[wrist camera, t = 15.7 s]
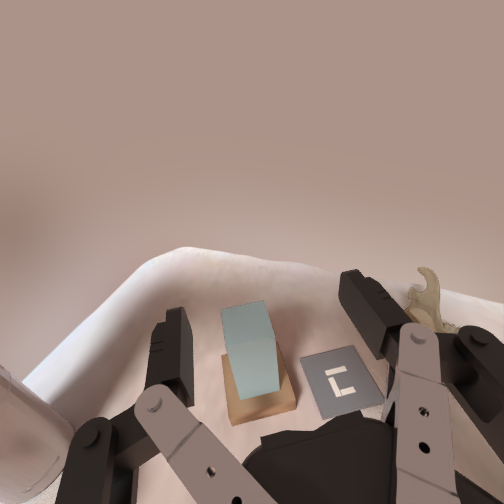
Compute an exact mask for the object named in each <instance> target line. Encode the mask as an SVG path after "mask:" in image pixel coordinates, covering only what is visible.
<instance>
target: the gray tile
mask: <svg viewBox="0 0 504 504" xmlns="http://www.w3.org/2000/svg"><path fill="white" fill-rule="evenodd" d="M300 362H301V364H302V367H303V369H304V372H305V375H306V377H307V380H308V383H309V385H310V388H311V390H312V393H313V396H314V398H315V401H316V403H317V406H318V409H319V411H320V414H321V416H322V419H323V420H324V419H328V418H332V417H335V416H339V415H343V414H346V413H350V412H353V411H357V410H361V409H364V408H368V407H372V406H375V405H379V404H383V403H384V400H385V399H384V397H383V396H382V394H381V392H380V391H379V389H378V387H377V385H376V384H375V382H374V380H373V379H372V377H371V375H370V374H369V372H368V370H367V369H366V367H365V365H364V363H363V362H362V360H361V358H360V357H359V355H358V353H357V352H356V350H355V348H354V346H349V347H345V348H341V349H337V350H332V351H328V352H324V353H320V354H316V355H312V356H308V357H304V358H300Z"/></svg>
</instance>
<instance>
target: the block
mask: <svg viewBox="0 0 504 504" xmlns="http://www.w3.org/2000/svg"><path fill="white" fill-rule="evenodd" d="M221 315H222V323H223V330H224V338H225V345H226V350H227V354H228V357H229V361H230V365H231V368H232V372H233V376H234V379H235V383H236V387H237V391H238V394H239V398H240V400H243V399H247V398H251V397H255V396H259V395H263V394H267V393H271V392H275V391H279V390H280V387H279V375H278V363H277V351H276V340H275V334H274V331H273V327H272V324H271V321H270V318H269V315H268V312H267V309H266V306H265V302H264V300H263V301H258V302H253V303H249V304H244V305H240V306H235V307H231V308H226V309H221Z"/></svg>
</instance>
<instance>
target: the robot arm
mask: <svg viewBox="0 0 504 504" xmlns="http://www.w3.org/2000/svg"><path fill="white" fill-rule="evenodd" d="M338 295H339V300H340V303H341V305H342V307H343V308H344V310H345V311H346V313H347V314H348V316H349V318H350V319H351V321H352V322H353V324H354V325H355V327H356V328H357V330H358V332H359V333H360V335H361V336H362V338H363V339H364V341H365V342H366V344H367V346H368V347H369V349H370V350H371V352H372V353H373V355H374V356H375V358H376V360H379V359H383V358H386V360H387V361H388V368H387V379H386V389H385V400H384V407H383V412H382V416H381V421H380V420H376V419H373V418H367V417H363V415H362V413H361V411H360V410H358V411H354V412H351V413H347V414H343V415H340V416H336V417H335V418H333V419H332V420H330V421H329V422H327V423H326V424H324V425H322V426H321V427H319V428H318V429H316V430H314V431H291V430H285V431H281V432H278V433H274V434H270V435H267V436H263V437H260V438H261V443H262V444H261V445H260V446H258V447H257V448H256V449H254V450H253V451H252V452H251V453H250V454H249V455H248V456H247V457H246V459H245V460H244V462H243V463H242V465H241V464H240V462H239V461H238V460H237V459H236V458H235V457H234V456H233V455H232V454H231V453H230V452H229V450H228V449H227V448H226V447H225V446H224V445H223V444H222V443H221V442H220V441H219V440H218V438H217V437H216V436H215V435H214V434H213V433H212V432H211V431H210V430H209V429H208V428H207V427H206V426H205V425H204V424H203V423H202V422H199V421H198V420H197V419H196V418H195V417H194V416H193V414H192V413H191V412H190V411H189V410H188V409H187V408H188V407H192V406H194V367H193V335H192V329H191V326H190V323H189V320H188V318H187V315H186V312H185V310H184V307H178V308H173V309H169V310H167V311H166V322H161V323H157V325H156V327H155V329H154V330H153V332H152V336H151V343H150V344H151V346H150V351H149V352H150V354H149V359H148V367H147V374H146V382H145V388H144V391H143V392H142V393H141V395H140V396H139V397H138V399H137V401H136V403H135V404H134V405H133V406H131V407H130V408H129V409H127V410H125V411H124V412H122V413H120V414H119V415H117V416H115V417H113V418H112V419H110V420H108V419H107V418H104V417H97V418H94V419H91V420H89V421H88V422H86V423H85V424H84V425H82V426H81V427H80V428H79V429H78V431H77V432H76V433H74V429H73V427H72V425H71V424H70V423H69V422H68V421H67V420H65V419H64V418H63V417H62V416H61V415H59V414H58V413H57V412H56V411H55V410H54V409H53V408H51V407H50V406H49V405H48V404H47V403H45V402H44V401H43V400H42V399H41V398H39V397H38V396H37V395H36V394H35V393H34V392H32V391H31V390H30V389H29V388H28V387H26V386H25V385H24V384H23V383H22V382H20V381H19V380H18V379H17V378H16V377H14V376H13V375H12V374H11V373H10V372H9V371H7V370H6V369H5V368H4V367H2V366H1V365H0V502H2V503H6V504H18V503H21V502H24V501H27V500H29V499H31V498H33V497H34V496H36V495H37V494H39V493H40V492H41V491H43V490H44V489H45V488H46V487H47V486H48V485H50V484H51V483H52V482H53V481H54V479H55V478H56V477H57V476H58V475H59V473H60V472H61V471H62V469H63V468H64V470H63V474H62V478H61V482H60V485H59V489H58V493H57V497H56V501H55V504H136V502H137V487H138V472H139V466H141V465H142V464H144V463H145V462H147V461H148V460H150V459H151V458H152V457H154V456H155V455H157V454H158V453H160V452H161V453H162V454H163V455H164V457H165V458H166V460H167V462H168V463H169V465H170V466H171V468H172V469H173V470H174V472H175V473H176V475H177V476H178V477H179V479H180V480H181V482H182V483H183V484H184V486H185V487H186V488H187V490H188V491H189V493H190V494H191V495H192V497H193V498H194V500H195V501H196V502H197V504H503V503H502V502H501V501H499V500H498V499H496V498H495V497H493V496H492V495H490V494H489V493H488V492H486V491H485V490H483V489H482V488H480V487H479V486H478V485H476V484H475V483H473V482H472V481H470V480H469V479H468V478H466V477H465V476H463V475H462V474H460V473H459V472H457V471H456V470H455V469H454V460H453V448H452V436H451V423H450V411H449V399H448V390H447V388H448V389H449V390H450V392H451V393H452V394H453V396H454V397H455V399H456V400H457V401H458V403H459V404H460V405H461V407H462V408H463V409H464V411H465V412H466V413H467V415H468V416H469V418H470V419H471V420H472V422H473V423H474V424H475V426H476V427H477V428H478V430H479V431H480V432H481V434H482V435H483V437H484V438H485V439H486V441H487V442H488V443H489V445H490V446H491V447H492V449H493V450H494V451H495V453H496V454H497V456H498V457H499V458H500V460H501V461H502V462H503V464H504V344H503V343H502V342H501V341H499V340H498V339H497V338H496V337H495V336H494V335H493V334H492V333H490V332H489V331H487V330H485V329H483V328H480V327H477V326H463V327H461V328H460V329H459V331H458V333H457V334H456V333H438V332H433V331H432V330H431V329H430V328H428V327H426V326H424V325H422V324H419V323H414V322H413V321H412V320H411V318H410V317H409V316H408V315H407V314H406V313H405V312H404V310H403V309H402V308H401V307H400V306H399V305H398V304H397V303H396V301H395V300H394V299H393V298H391V296H390V295H389V293H388V292H386V290H385V289H384V288H383V287H382V285H381V284H380V283H379V282H377V281H375V280H374V279H372V278H370V277H366V278H365V277H364V276H363V275H362V274H361V272H359V270H357V269H355V270H350V271H346V272H342V273H341V277H340V285H339V293H338ZM441 382H443V383H444V384H445V385H444V384H442V383H441ZM446 386H447V387H446Z"/></svg>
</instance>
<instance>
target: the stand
mask: <svg viewBox="0 0 504 504" xmlns="http://www.w3.org/2000/svg"><path fill="white" fill-rule="evenodd" d="M276 351H277V363H278V375H279V387H280V390H279V391H275V392H271V393H267V394H263V395H259V396H255V397H251V398H247V399H243V400H240V398H239V394H238V391H237V387H236V383H235V379H234V376H233V372H232V368H231V365H230V361H229V357H228V354H225V355H221V357H222V366H223V374H224V382H225V391H226V399H227V407H228V416H229V419H230V422H231V425H232V426H235V425H239V424H242V423H246V422H250V421H254V420H257V419H261V418H265V417H269V416H272V415H276V414H280V413H284V412H287V411H291V410H295V409H296V398H295V395H294V392H293V389H292V386H291V383H290V380H289V377H288V374H287V371H286V368H285V364H284V361H283V358H282V355H281V352H280V349H279V346H278V343H277V342H276Z"/></svg>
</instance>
